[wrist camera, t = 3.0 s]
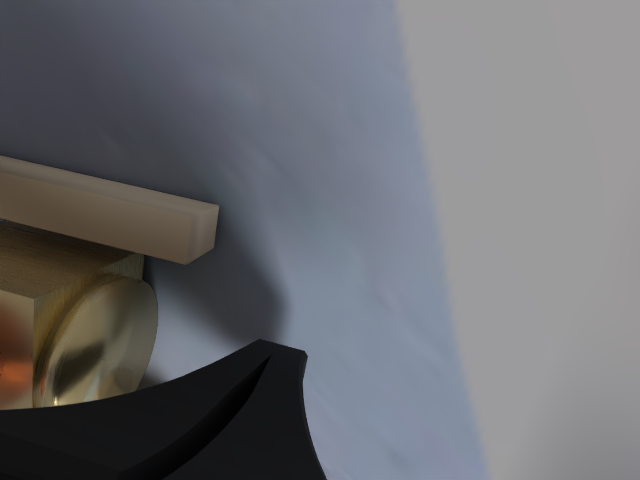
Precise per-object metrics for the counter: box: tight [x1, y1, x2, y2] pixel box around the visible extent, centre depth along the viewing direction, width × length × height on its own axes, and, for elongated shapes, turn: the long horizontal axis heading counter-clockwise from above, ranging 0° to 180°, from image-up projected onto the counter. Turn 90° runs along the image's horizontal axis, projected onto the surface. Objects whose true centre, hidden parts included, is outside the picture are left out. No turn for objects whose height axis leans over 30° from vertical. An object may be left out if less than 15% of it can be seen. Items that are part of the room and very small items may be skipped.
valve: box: [0, 220, 158, 410], centre depth 12 cm, size 5×4×5 cm
